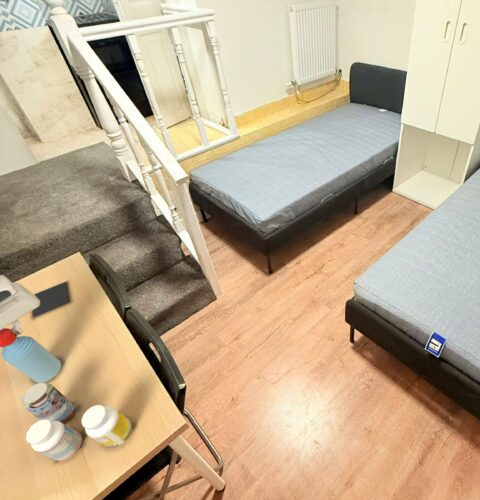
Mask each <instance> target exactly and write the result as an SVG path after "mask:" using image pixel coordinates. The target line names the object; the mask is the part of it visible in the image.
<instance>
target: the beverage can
mask: <svg viewBox="0 0 480 500" xmlns="http://www.w3.org/2000/svg"><path fill="white" fill-rule="evenodd" d="M21 401H22V407H23V408H24V409H25V410H26V411H28V412H29V413H31V414H32V415H33V416H34V417H36V418H37V419H38V421H40V420H43V419H46V420H49V421H59V422H61V423H63V424H65V425H67V424H68V423H69V422H70V421H71V420H72V419H73V417H74V415H76V412H77V411H76V409H77V408H76V406H75V405H74V404H73V403H72V402H71V401H70V400H69V399H68V398H67V397H66V396H65V395H64V394H63V393H62V392H61V391H60V390H58V388H56V387H55V386H54V385H53V384H51V383H46V382H43V383H35V384H33V385H32V386H31V387H29V388H28V389H27V390H26V391H25V392H24V393H23V395H22V397H21Z"/></svg>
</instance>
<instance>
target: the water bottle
mask: <svg viewBox="0 0 480 500" xmlns="http://www.w3.org/2000/svg"><path fill="white" fill-rule="evenodd" d="M1 357H2V359H3V361H4V362H6V363H8V364H9V365H10V366H12V367H13V368H15V369H16V370H17V371H19V372H20V373H22V374H23V375H24V376H26V377H28V378H29V379H31V380H32V381H33V382H35V383H36V384H38V383H46V382H48V381H50V380H52V379H53V378H55V377H56V376H57V375H58V373H59V372H60V370H61V369H62V361H61V360H60V359H59V358H58V357H56V356H55V355H54V354H52V352H50V351H49V350H48V349H46V347H44V346H43V345H42V344H41V343H39V342H38V341H37V340H36V339H35V338H34V337H32V336H28V335H22V336H21V335H20V336H17V338H16V340H15V341H14V342H13V343H12V344H10V345H9V346H6V347H2V350H1Z"/></svg>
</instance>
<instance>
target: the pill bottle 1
mask: <svg viewBox="0 0 480 500" xmlns="http://www.w3.org/2000/svg"><path fill="white" fill-rule="evenodd" d="M25 440H26V442H27V443H29V444H30V446H31V448H32V450H34V451H35V452H37V453H40V454H42V455H44V456H46V457H48V458H50V459H53V460H55V461H58V462H62V461H66V460H68V459H70V458H71V457H72V456H74V455H75V454H76V453H77V452H78V451H79V450H80V447H81V446H82V442H83V437H82V434H81V433H80V432H78V431H77V430H75V429H73V428H71V427H70V426H68V425H67V424H63V423H61V422H59V421H49V420H46V419H43V420H38V421H35V422H34V423H33V424H32V425H31V426H30V427H29V429H28V430H27V432H26V435H25Z"/></svg>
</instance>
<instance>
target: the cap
mask: <svg viewBox="0 0 480 500" xmlns="http://www.w3.org/2000/svg"><path fill="white" fill-rule="evenodd" d="M17 337H18V336H16V335H15V334H13V333H12V331H11V328H9V327H5V328H4V329H2V330H0V348H3V347H6V346H9V345H10V344H12V343H13V342H14V341H15V340H16V338H17Z"/></svg>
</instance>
